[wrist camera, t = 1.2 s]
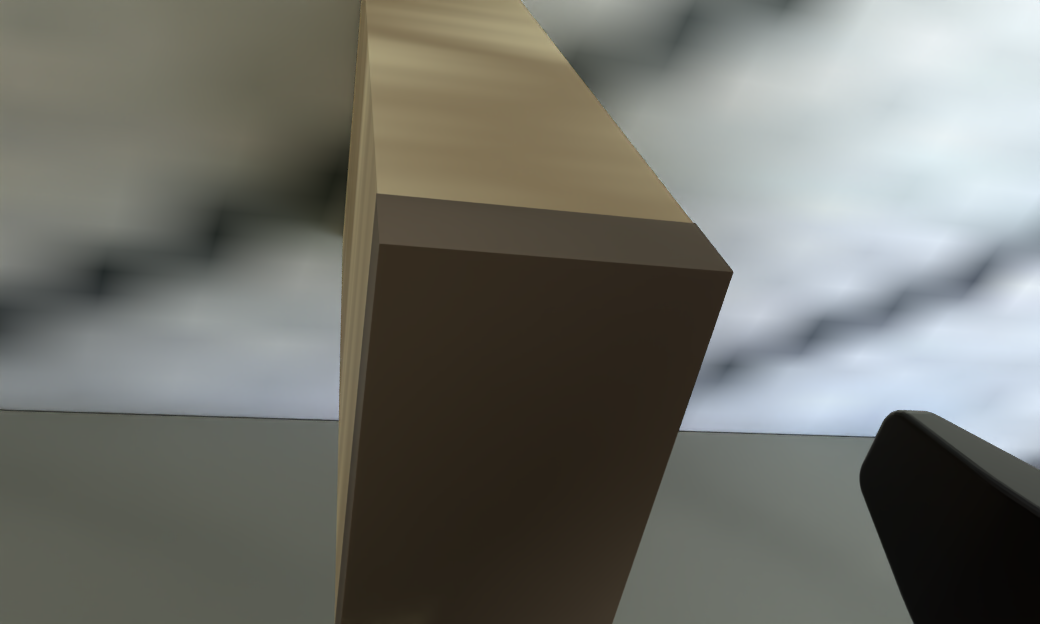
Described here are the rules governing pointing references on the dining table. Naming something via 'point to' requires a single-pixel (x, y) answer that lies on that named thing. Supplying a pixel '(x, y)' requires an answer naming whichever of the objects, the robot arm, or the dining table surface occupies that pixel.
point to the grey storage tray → (313, 522)
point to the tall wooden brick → (502, 328)
